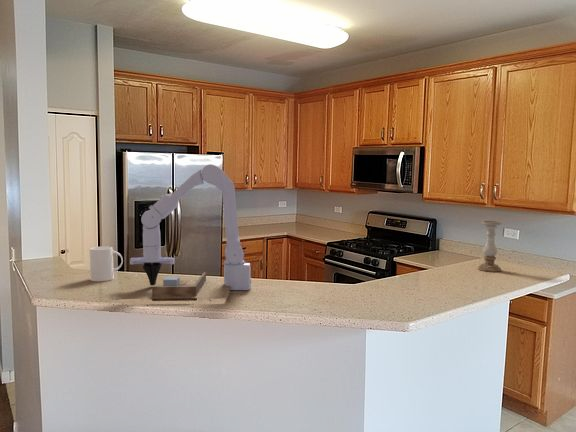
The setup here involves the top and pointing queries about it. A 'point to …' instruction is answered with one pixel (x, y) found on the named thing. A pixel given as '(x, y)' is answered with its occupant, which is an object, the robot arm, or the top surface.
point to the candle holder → (490, 248)
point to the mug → (102, 263)
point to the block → (171, 281)
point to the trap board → (179, 290)
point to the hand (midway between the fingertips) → (153, 284)
